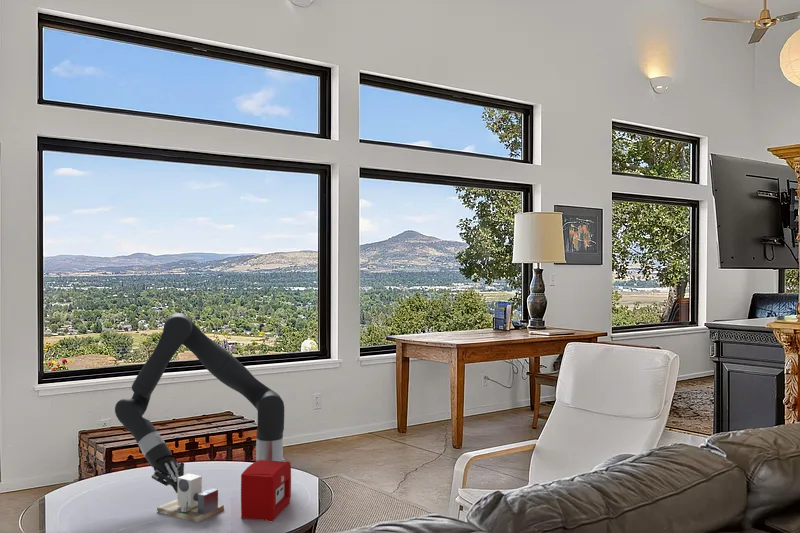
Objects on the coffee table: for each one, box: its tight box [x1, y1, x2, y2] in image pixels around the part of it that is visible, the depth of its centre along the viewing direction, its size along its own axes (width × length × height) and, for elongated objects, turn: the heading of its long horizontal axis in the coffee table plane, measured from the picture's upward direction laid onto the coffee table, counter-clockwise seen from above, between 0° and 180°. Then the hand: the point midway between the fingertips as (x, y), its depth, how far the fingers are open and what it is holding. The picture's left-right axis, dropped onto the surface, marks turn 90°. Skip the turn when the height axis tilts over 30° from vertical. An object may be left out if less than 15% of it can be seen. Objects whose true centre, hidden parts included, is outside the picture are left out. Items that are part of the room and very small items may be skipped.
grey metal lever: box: [184, 496, 190, 512], centre depth 234 cm, size 1×2×5 cm, turn 152°
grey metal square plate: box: [198, 487, 219, 514], centre depth 236 cm, size 2×6×6 cm, turn 153°
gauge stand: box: [156, 498, 225, 523], centre depth 240 cm, size 17×12×2 cm
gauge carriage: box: [177, 472, 203, 512], centre depth 238 cm, size 8×8×9 cm
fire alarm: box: [240, 460, 292, 522], centre depth 240 cm, size 16×11×15 cm
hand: (182, 492), depth 241 cm, fingers closed
